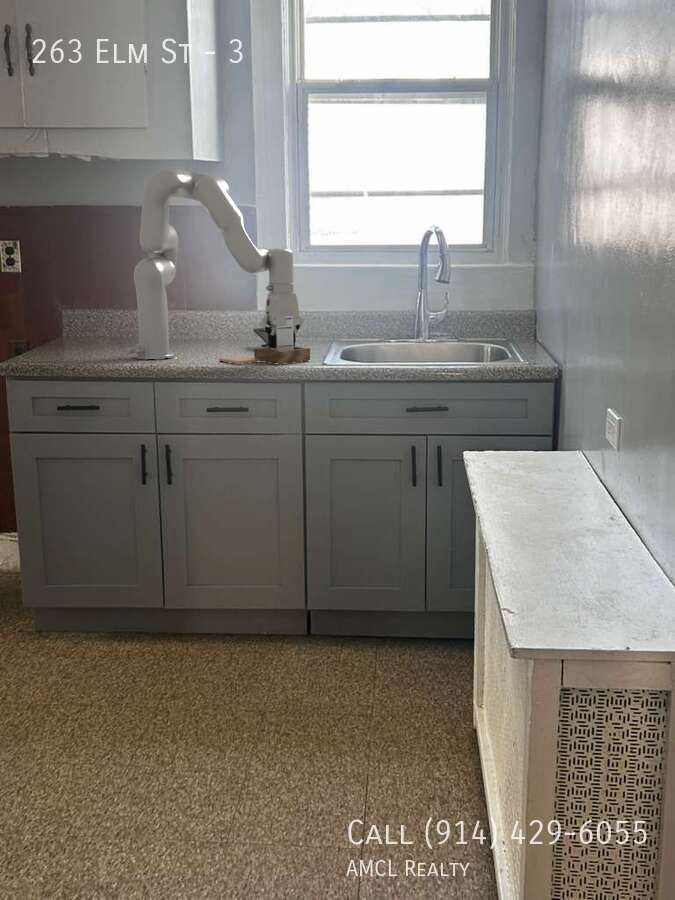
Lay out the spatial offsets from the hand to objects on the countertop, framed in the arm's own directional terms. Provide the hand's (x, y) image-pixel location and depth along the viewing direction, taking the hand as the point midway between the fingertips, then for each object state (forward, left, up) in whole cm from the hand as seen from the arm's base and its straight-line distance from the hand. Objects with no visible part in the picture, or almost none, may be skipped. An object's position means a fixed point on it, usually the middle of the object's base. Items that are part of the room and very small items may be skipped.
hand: (282, 346), depth 329 cm
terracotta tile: (-10, +8, -5) cm, 14 cm away
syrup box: (0, 0, -5) cm, 5 cm away
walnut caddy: (0, 0, -5) cm, 5 cm away
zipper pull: (+13, +21, -5) cm, 25 cm away
